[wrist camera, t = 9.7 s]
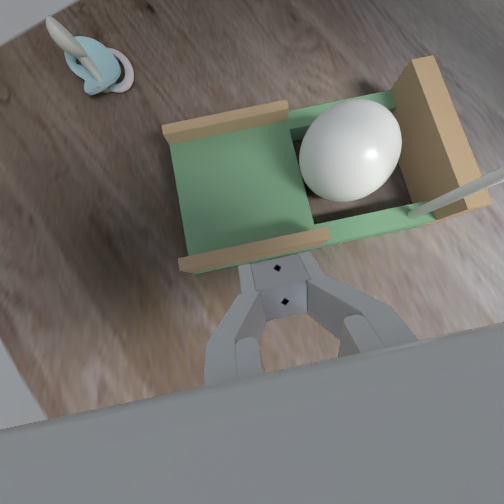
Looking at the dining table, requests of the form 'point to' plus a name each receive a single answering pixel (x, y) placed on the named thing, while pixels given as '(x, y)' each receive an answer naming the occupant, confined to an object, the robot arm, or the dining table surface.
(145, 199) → the dining table surface
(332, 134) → the ball
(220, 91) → the dining table surface
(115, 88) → the pacifier
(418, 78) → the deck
